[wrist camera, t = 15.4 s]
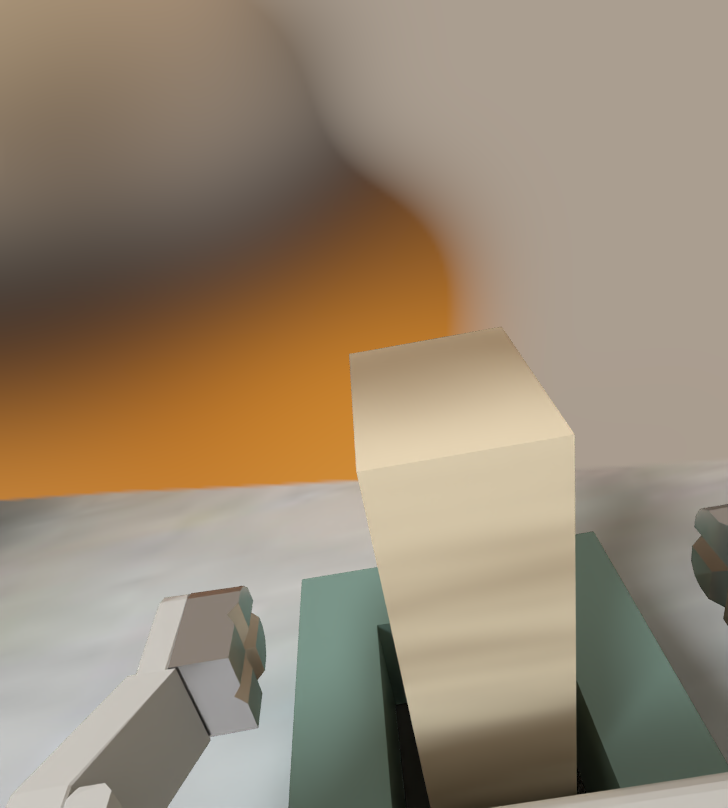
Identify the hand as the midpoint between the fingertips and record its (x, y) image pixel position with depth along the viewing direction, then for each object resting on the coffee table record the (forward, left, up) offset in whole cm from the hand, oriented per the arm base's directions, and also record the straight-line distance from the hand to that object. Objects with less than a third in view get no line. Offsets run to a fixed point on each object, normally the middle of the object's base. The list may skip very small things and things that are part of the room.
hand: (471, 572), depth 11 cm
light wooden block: (-1, 0, -8) cm, 9 cm away
